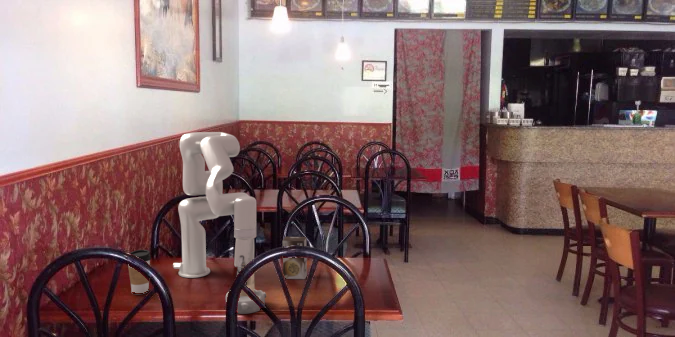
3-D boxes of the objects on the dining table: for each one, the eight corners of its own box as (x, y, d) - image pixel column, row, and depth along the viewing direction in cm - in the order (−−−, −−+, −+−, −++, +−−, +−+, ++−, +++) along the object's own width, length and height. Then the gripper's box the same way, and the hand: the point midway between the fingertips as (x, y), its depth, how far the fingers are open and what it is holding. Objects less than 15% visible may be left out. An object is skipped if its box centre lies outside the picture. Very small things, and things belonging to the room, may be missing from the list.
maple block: (236, 295, 188) (236, 276, 187) (240, 290, 193) (240, 271, 192) (251, 296, 188) (250, 276, 187) (254, 291, 193) (254, 272, 192)
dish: (249, 318, 181) (248, 303, 181) (216, 310, 188) (216, 296, 187) (274, 304, 194) (274, 290, 193) (243, 297, 201) (243, 284, 200)
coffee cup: (156, 289, 208) (155, 250, 206) (142, 296, 200) (140, 256, 198) (138, 286, 210) (137, 248, 208) (123, 293, 202) (121, 254, 200)
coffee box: (307, 274, 227) (307, 236, 225) (304, 279, 220) (304, 240, 218) (285, 273, 227) (285, 235, 225) (282, 278, 221) (282, 239, 219)
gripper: (240, 226, 197) (241, 272, 199) (227, 238, 180) (228, 288, 182) (261, 226, 196) (261, 273, 198) (250, 239, 179) (250, 289, 181)
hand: (245, 280), depth 190 cm, fingers open, 9 cm apart
